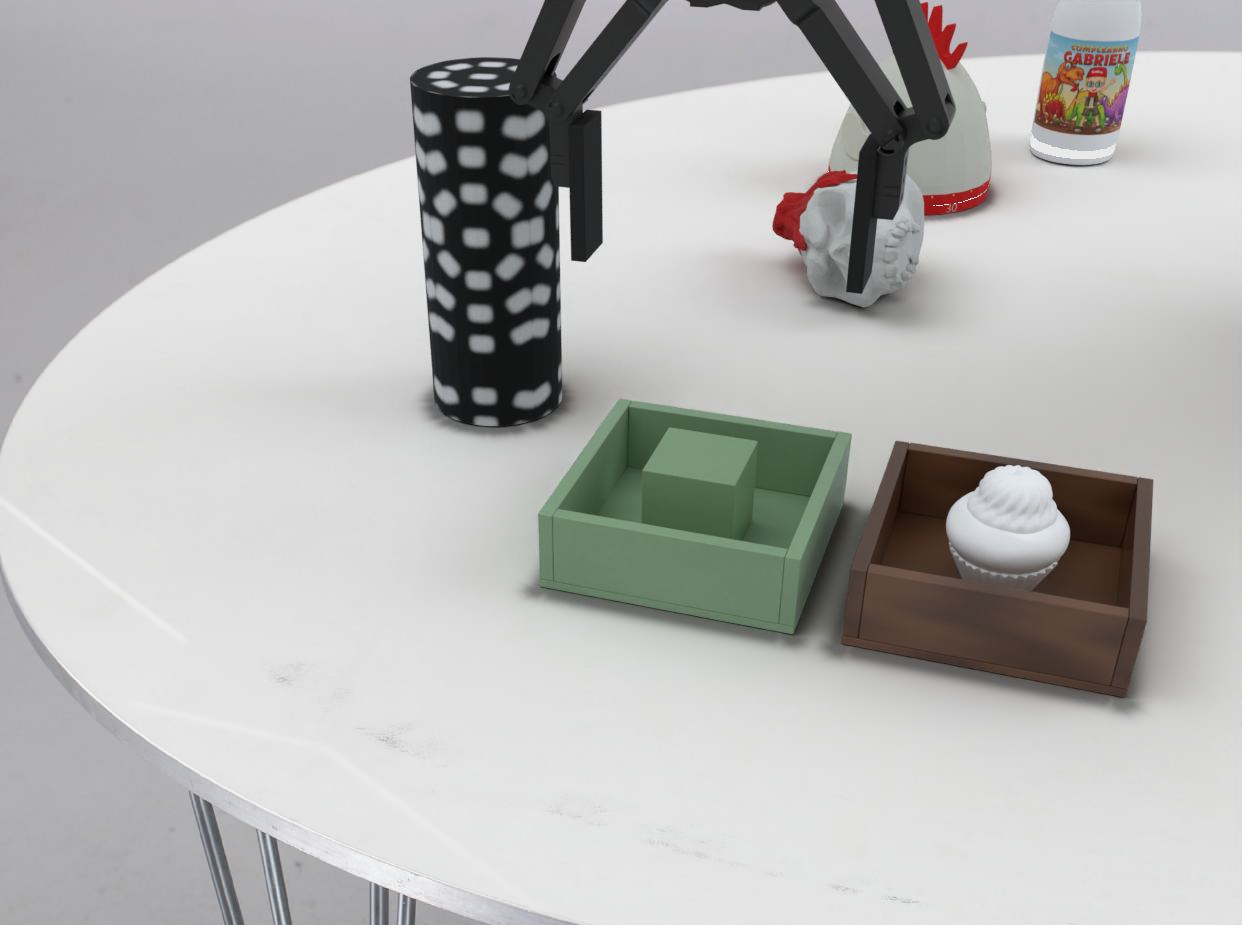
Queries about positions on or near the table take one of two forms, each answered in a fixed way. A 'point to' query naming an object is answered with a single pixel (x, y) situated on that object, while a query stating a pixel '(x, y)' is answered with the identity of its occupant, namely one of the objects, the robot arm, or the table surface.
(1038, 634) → the brown bin
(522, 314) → the spotted tube
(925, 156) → the kitchen timer
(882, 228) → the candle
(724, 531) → the green block
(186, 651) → the table surface
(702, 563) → the green bin
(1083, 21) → the milk bottle
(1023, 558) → the muffin
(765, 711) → the table surface
